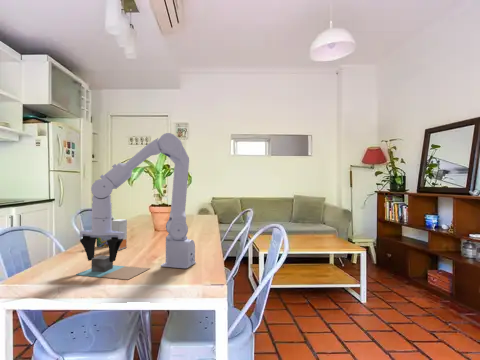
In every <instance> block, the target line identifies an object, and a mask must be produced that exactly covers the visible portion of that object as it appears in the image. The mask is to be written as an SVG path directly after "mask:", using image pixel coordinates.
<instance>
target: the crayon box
mask: <svg viewBox="0 0 480 360" xmlns="http://www.w3.org/2000/svg"><path fill="white" fill-rule="evenodd" d="M113 220H114V217H112V221H113ZM107 240H110V238H97V239H96V247H97V248H103V247H108V243H107Z"/></svg>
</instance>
